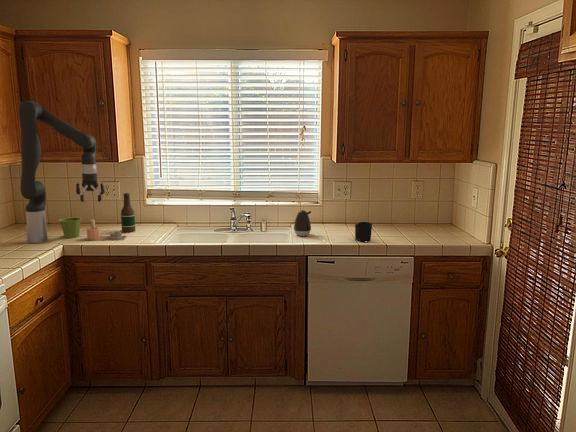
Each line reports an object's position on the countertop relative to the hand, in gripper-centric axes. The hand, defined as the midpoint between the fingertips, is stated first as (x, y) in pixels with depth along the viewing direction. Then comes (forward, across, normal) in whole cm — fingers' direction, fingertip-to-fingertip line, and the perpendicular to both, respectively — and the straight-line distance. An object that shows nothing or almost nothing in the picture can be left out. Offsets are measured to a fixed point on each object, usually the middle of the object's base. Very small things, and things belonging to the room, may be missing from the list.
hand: (91, 201), depth 252 cm
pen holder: (+20, +151, -17) cm, 153 cm away
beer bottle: (+22, +16, +17) cm, 32 cm away
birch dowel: (+20, 0, 0) cm, 20 cm away
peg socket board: (+22, +7, 0) cm, 23 cm away
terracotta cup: (+21, 0, 0) cm, 21 cm away
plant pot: (+22, -13, +6) cm, 26 cm away
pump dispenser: (+20, +119, 0) cm, 120 cm away
